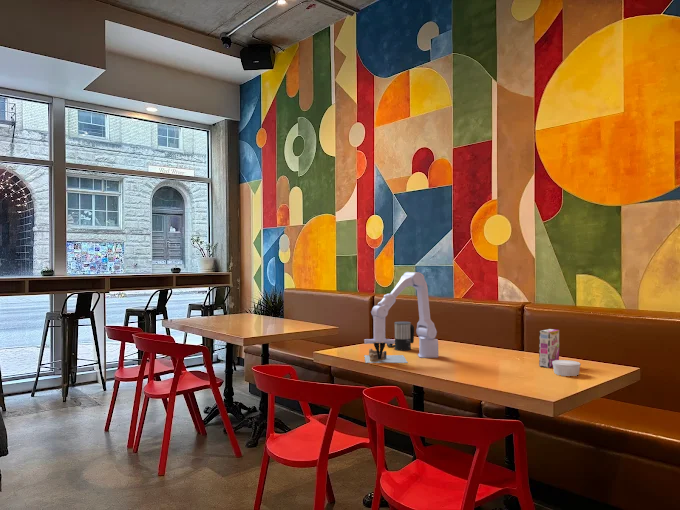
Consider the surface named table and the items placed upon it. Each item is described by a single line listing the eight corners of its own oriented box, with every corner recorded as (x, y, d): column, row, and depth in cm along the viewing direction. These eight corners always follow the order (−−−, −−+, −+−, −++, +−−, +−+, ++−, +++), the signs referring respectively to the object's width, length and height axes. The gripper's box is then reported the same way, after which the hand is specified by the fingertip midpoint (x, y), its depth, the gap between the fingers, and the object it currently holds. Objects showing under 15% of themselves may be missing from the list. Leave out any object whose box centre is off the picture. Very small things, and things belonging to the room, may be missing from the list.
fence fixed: (370, 355, 263) (370, 348, 263) (387, 358, 256) (387, 351, 256) (368, 356, 262) (368, 348, 262) (384, 359, 254) (384, 351, 254)
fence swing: (382, 358, 255) (382, 351, 255) (384, 358, 254) (384, 351, 254) (369, 360, 249) (369, 353, 249) (371, 361, 248) (371, 354, 248)
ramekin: (564, 378, 213) (564, 365, 213) (546, 372, 224) (546, 360, 224) (586, 376, 216) (586, 364, 217) (568, 371, 227) (567, 359, 227)
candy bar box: (549, 368, 233) (549, 331, 233) (538, 366, 236) (538, 330, 236) (560, 364, 240) (559, 329, 241) (549, 363, 244) (549, 328, 244)
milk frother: (407, 351, 276) (407, 323, 276) (380, 349, 283) (380, 322, 283) (416, 347, 289) (416, 320, 289) (389, 345, 296) (389, 319, 296)
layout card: (403, 355, 264) (403, 355, 264) (407, 363, 245) (407, 362, 245) (364, 355, 264) (364, 355, 264) (365, 363, 245) (365, 362, 245)
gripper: (394, 329, 253) (394, 357, 252) (364, 329, 253) (364, 357, 253) (394, 331, 245) (395, 360, 245) (364, 331, 246) (364, 359, 246)
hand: (379, 358), depth 249 cm, fingers closed
